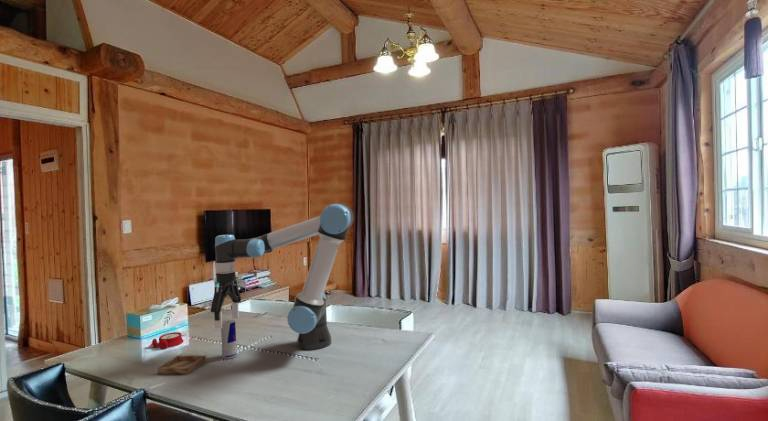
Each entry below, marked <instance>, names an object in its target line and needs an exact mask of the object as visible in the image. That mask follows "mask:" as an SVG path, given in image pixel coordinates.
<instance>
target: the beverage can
mask: <svg viewBox="0 0 768 421" xmlns="http://www.w3.org/2000/svg"><path fill="white" fill-rule="evenodd" d="M236 328H237V327H236V320H235V319H225V320H222V328H220V333H221V336H220V337H221V355H222V356H221V358H223V359H224V360H225V359H226V360H227V359H229V360H230V359H233V358H235V357H236V356H237V354H238V353H237V351H238V349H237V333H236V332H237V331H236V330H237V329H236Z"/></svg>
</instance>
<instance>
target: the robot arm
mask: <svg viewBox="0 0 768 421" xmlns="http://www.w3.org/2000/svg"><path fill="white" fill-rule="evenodd" d="M321 211H322V212H321V213H320V215H319V216H315V217H313V218H309V219H307V220H304V221H301V222H298V223H295V224H292V225H289V226H286V227H283V228H281V229H277V230H274V231H272V232H269V233H265V234H262V235H260V236H257V237H252V238H248V239H247V238H246V239H245V238H244V239H236V238H235V235H234V234H220V235H217V236H216V237H215V238H214V242H215V243H214V250H215V251H214V252H215V266H214V267H215V272H216V274H215V281H216V283H218V284H219V286H214V293H213V299H212V301H211V302H212V303H211V307H210V312H211V313H213V314H214V315H213V316H214V329H221V328H222V321H223V313H222V308H223V304H224V302H225V298H226V297H227V296H229V298H230V300H231V318H232V319H238V318H240V315H239V314H240V313H239V309H240V308H239V303H241V302H242V296H241V293H240V290H239V286H238V281H237V278H236V273H237V272H235V271H236V258H253V259H255V258H260V257H263V255H264V254H265V253H269V252H270V251H273V250H275V249H279V248H282V247H284V246H287V245H290V244H294V243H296V242H300V241H303V240H306V239H309V238H311V237H314V236H319V239H318V241H317V244H316V248H315V250H314V253H313V256H312V260H311V263H310V266H309V268H308V271H307V275H306V278H305V281H304V284H303V288H302V291H301V292H299V293H297V294H296V296H295V299H294V300H295V301H294V303H293V307H291V309H290V310H289V312H288V314H287V325H288V326H289V328H290V329H291V330H292V331H293V332H295V333H297V334H298V335H297V339H296V344H297V345H296V346H297V348H299V349H302V350H307V351H309V350H310V351H311V350H318V349H319V350H320V349H323V348H326V347H329V346H330V345H331V344H332V336H331V333H330V331H329V330H330V329H329V326H328V322H327V321H328V320H327V318H328V317H327V297H326V293H325V290H326V287H327V284H328V281H329V278H330V274H331V271H332V268H333V266H334V263H335V260H336V257H337V253H338V250H339V247H340V244H342V243H343V242H345V240H346V238H347V235H348V233H349V228H351V227H352V225H353V224H354V222H355V214H354V212H353V209H351V208H350V206H348V205H347V204H344V203H332V204H329V205H328V206H326V207H324V209H323V210H321Z"/></svg>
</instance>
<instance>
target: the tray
mask: <svg viewBox="0 0 768 421" xmlns="http://www.w3.org/2000/svg"><path fill="white" fill-rule="evenodd" d="M206 356H207V355H176V356H175V357H173V358H171V359H170V360H169V361H167V362H166V363H164V364H162V365H161V366H159V367H158V368H157V375H162V376H163V375H164V376H165V375H169V376H170V375H171V376H172V375H173V376H174V375H177V376H178V375H182V376H184V375H185V376H188V375H190V374H191V373H192V372H194V371H195V370H197V368H199V367H201V366H202V365H203V364H204V363H206V362H207V361H206V360H207V358H206Z"/></svg>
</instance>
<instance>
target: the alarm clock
mask: <svg viewBox="0 0 768 421" xmlns="http://www.w3.org/2000/svg"><path fill="white" fill-rule="evenodd" d="M187 335H188V334H183V335H182V332H180V331H179V332H178V331H175V332H168V333H165V334H162V335H160V336H159V337H158V340H157V338H152V340H151V341H152V342H151V344H149V345H148V347H150V348H154V349H157V348H159V349H160V350H166V349H168V348H173V347H176V346H179V345H182V343H183V342H184V339H183V337H184V336H187Z"/></svg>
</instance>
